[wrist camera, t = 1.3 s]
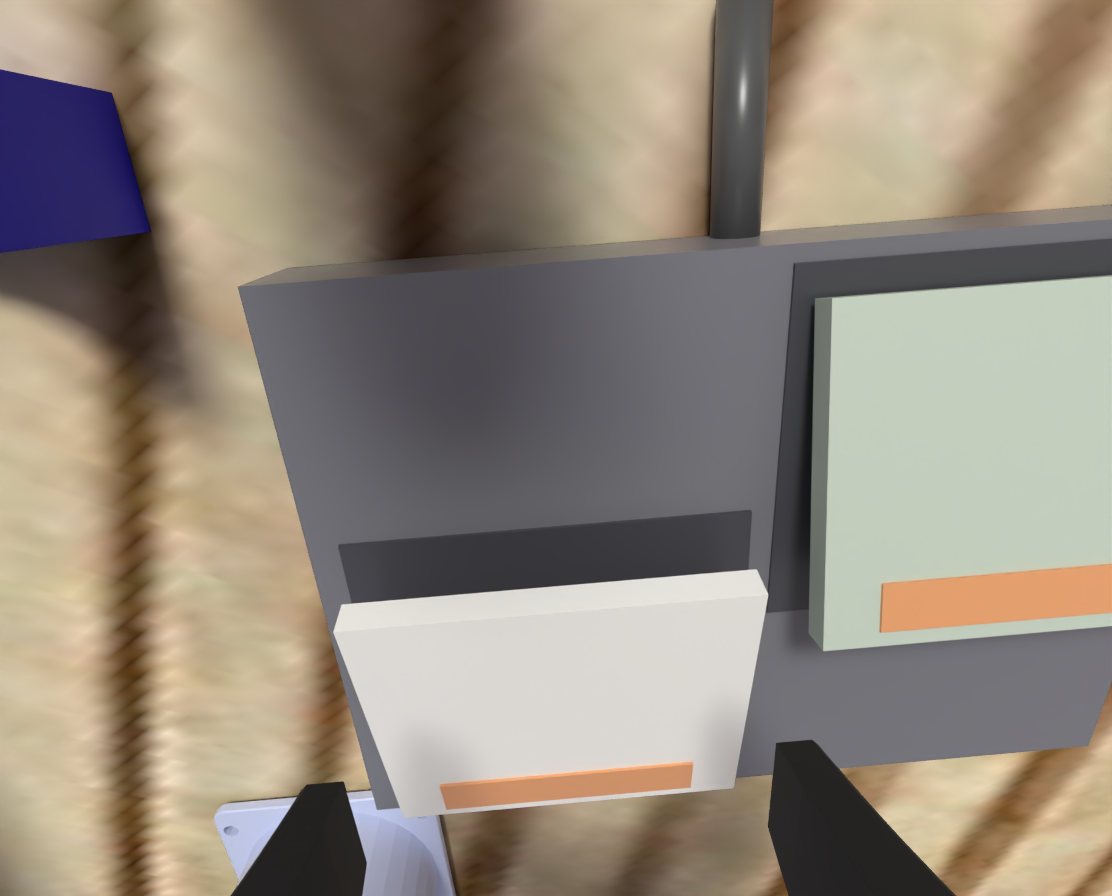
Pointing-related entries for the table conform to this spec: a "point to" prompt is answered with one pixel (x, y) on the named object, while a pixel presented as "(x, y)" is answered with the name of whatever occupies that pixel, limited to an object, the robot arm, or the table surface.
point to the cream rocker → (557, 690)
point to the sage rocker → (961, 463)
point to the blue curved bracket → (63, 166)
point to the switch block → (650, 436)
